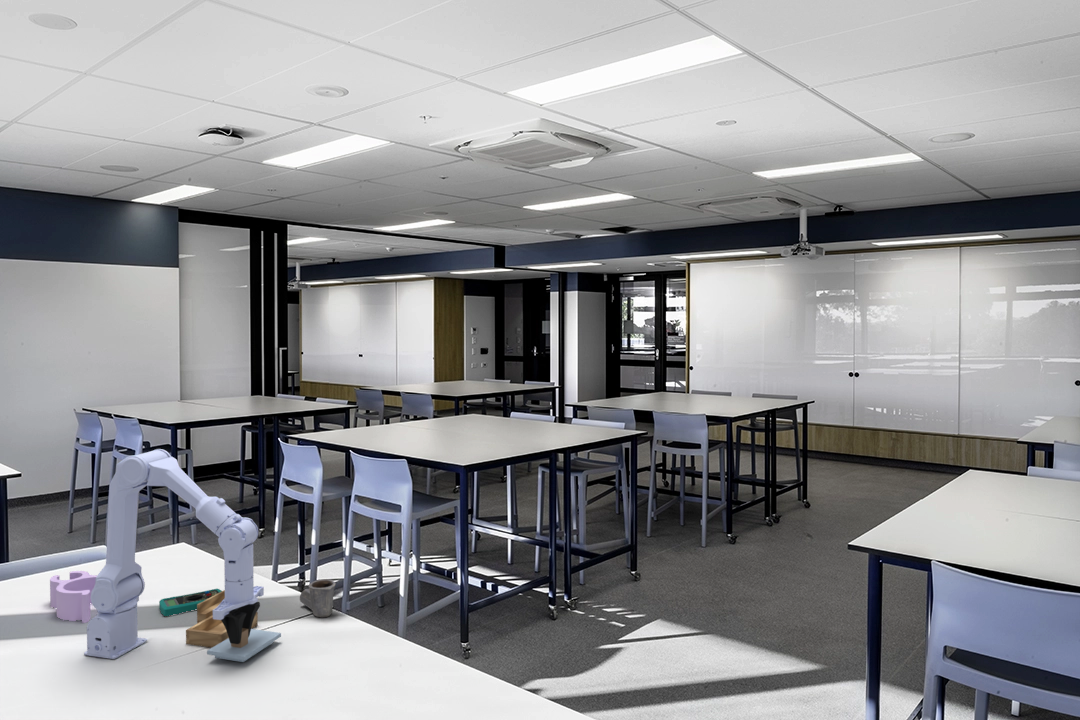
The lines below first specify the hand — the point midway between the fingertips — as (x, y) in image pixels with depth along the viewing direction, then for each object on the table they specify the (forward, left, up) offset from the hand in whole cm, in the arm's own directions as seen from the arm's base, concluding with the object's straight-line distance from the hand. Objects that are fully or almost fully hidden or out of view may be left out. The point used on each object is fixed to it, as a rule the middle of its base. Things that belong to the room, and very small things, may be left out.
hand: (239, 640), depth 157 cm
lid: (+2, 0, -3) cm, 3 cm away
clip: (+13, +54, -4) cm, 56 cm away
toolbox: (+13, +12, -4) cm, 18 cm away
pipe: (+26, -3, -4) cm, 26 cm away
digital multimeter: (+21, +29, -4) cm, 36 cm away
